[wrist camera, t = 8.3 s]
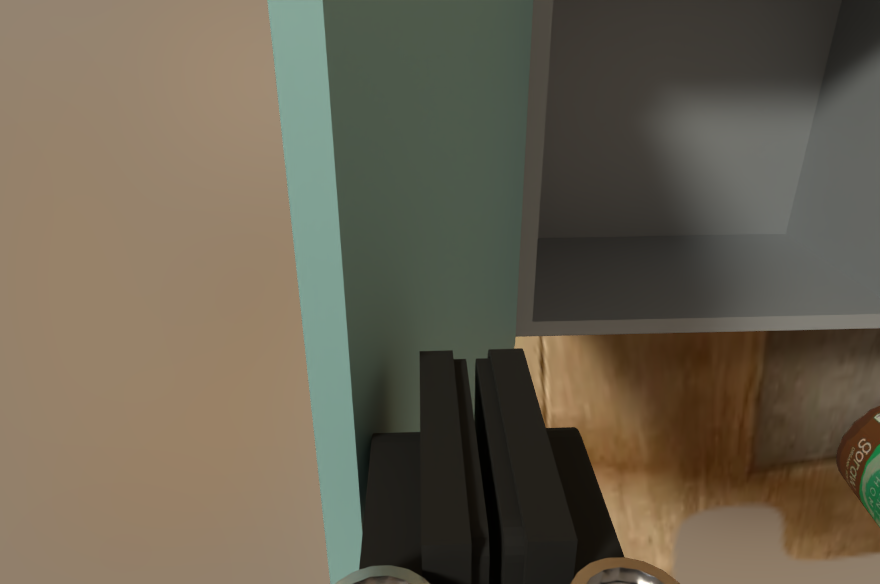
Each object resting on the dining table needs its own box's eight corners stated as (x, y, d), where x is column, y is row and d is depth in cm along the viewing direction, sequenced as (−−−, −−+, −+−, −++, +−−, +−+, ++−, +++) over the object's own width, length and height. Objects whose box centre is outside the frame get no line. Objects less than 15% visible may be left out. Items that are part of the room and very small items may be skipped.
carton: (863, -69, 35) (1062, -90, 25) (788, 240, 43) (914, 327, 32) (498, -68, 35) (537, -90, 24) (488, 245, 43) (515, 336, 32)
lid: (295, -375, 5) (227, -367, 5) (385, 845, 13) (357, 837, 13) (538, -100, 24) (522, -100, 24) (515, 342, 32) (502, 341, 32)
